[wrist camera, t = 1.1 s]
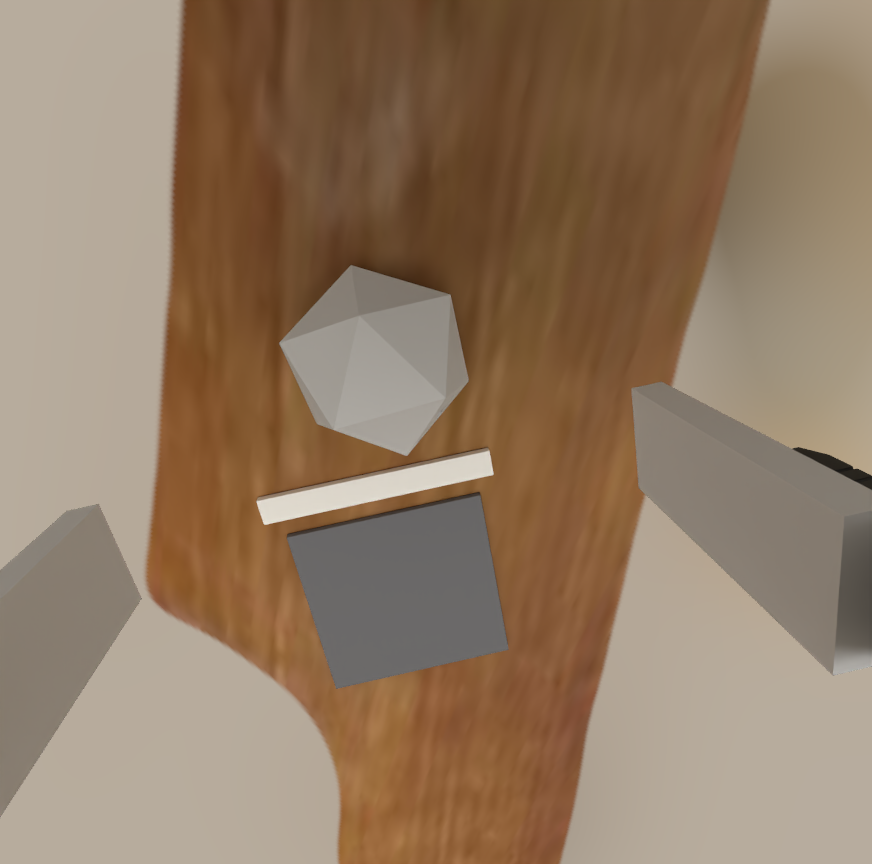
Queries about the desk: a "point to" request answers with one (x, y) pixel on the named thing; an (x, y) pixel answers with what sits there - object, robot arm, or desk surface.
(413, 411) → the die
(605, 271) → the desk surface
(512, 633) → the desk surface
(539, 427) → the desk surface
